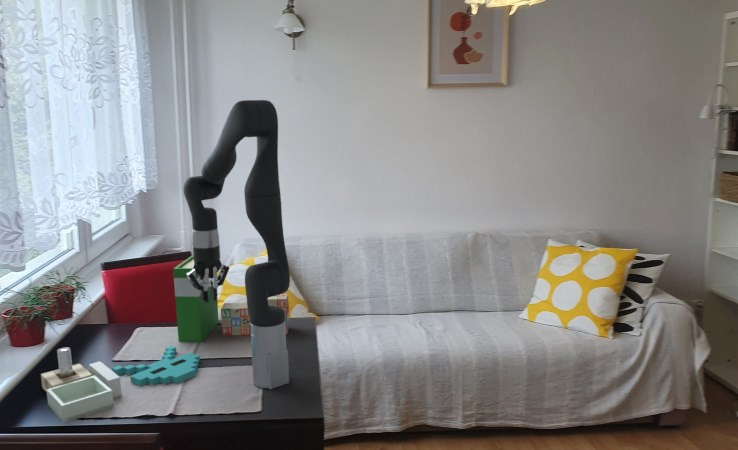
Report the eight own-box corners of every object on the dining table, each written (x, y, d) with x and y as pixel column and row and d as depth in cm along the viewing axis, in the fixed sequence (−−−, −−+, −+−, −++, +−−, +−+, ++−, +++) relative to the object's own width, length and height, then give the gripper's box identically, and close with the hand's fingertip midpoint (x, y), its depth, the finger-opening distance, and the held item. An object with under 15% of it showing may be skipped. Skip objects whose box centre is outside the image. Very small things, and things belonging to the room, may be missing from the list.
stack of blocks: (221, 336, 211) (219, 299, 209) (225, 329, 217) (223, 293, 215) (288, 334, 212) (286, 298, 209) (289, 327, 218) (288, 292, 215)
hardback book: (197, 322, 224) (193, 254, 219) (218, 322, 223) (214, 254, 218) (178, 341, 207) (173, 268, 202) (201, 342, 206) (196, 268, 201)
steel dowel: (76, 388, 174) (72, 349, 172) (63, 392, 172) (59, 353, 170) (72, 384, 177) (68, 346, 175) (59, 388, 175) (55, 349, 172)
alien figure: (112, 375, 183) (155, 394, 172) (111, 368, 183) (154, 386, 171) (172, 352, 199) (215, 368, 187) (171, 345, 199) (214, 361, 187)
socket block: (93, 388, 174) (92, 374, 173) (54, 400, 168) (52, 386, 167) (80, 376, 182) (79, 363, 181) (42, 387, 175) (40, 374, 174)
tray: (113, 406, 164) (112, 390, 163) (63, 422, 156) (61, 405, 155) (96, 390, 173) (94, 375, 172) (48, 405, 165) (46, 389, 164)
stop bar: (121, 394, 170) (120, 377, 169) (110, 398, 168) (108, 380, 167) (101, 378, 180) (100, 361, 179) (90, 381, 179) (89, 364, 178)
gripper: (190, 250, 181) (194, 309, 185) (233, 242, 190) (236, 299, 194) (177, 245, 187) (182, 303, 190) (220, 238, 196) (224, 293, 199)
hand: (209, 301), depth 192 cm, fingers closed
